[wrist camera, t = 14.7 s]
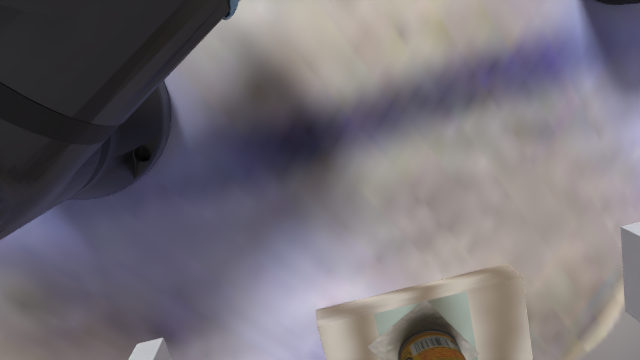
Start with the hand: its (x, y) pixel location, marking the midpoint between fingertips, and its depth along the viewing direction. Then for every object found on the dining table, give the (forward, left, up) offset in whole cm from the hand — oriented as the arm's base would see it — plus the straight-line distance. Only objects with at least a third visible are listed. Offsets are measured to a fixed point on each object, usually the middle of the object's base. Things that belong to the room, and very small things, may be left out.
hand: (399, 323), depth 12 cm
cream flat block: (+5, -22, -29) cm, 37 cm away
